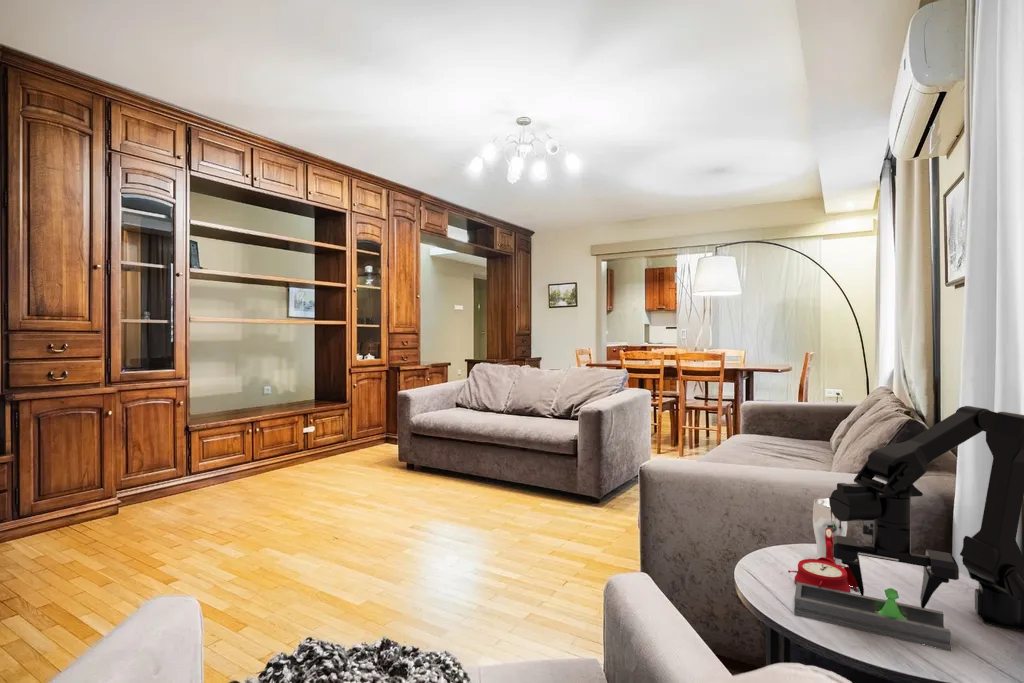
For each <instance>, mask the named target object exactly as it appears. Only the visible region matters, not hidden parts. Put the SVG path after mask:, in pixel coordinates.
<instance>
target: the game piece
mask: <svg viewBox="0 0 1024 683" xmlns="http://www.w3.org/2000/svg"><path fill="white" fill-rule="evenodd" d="M884 594H885V597H886V598H887V601H886V603H885V604H884V606H883V608H882V610H880V611H878V614H881V615H885V616H890V617H895V618H899V619H904V620H906V619H905V618H904V616H903V615H902V614H901V613H900V611H899V609H898V606H897V604H896V602H897V601H896V600H898V599H899V598H900V595H899V593H898V590H896V589H894V588H891V587H890V588H887V589H884Z"/></svg>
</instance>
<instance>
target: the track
mask: <svg viewBox="0 0 1024 683" xmlns="http://www.w3.org/2000/svg"><path fill="white" fill-rule="evenodd" d="M795 583H796V582H795ZM886 601H887V600H886V599H882V598H878V597H874V596H873V597H872V596H868V595H864V596H861V594H860V593H853V592H850V593H849V592H844V591H839V590H834V589H829V588H824V587H819V586H815V585H810V584H805V583H800V582H797V583H796V584H795V593H794V616H798V617H803V618H805V619H811V620H814V621H815V620H816V621H818V622H819V621H820V622H824V623H828V624H832V625H836V626H842V627H845V628H849V629H854V630H858V631H863V632H868V633H871V634H875V635H879V636H884V637H889V638H891V639H897V640H900V641H906V642H910V643H913V642H914V643H913V644H918V643H919V645H922V644H925V645H924V646H926V645H928V646H927V647H930V646H932V647H931V648H935V647H936V649H939V648H940V650H943V649H944V650H943V651H948V652H952V644H951V641H952V637H951V635H952V634H951V633H952V632H951V630H950V629H949V628H945V626H944V623H945V622H944V618H945V617H944V616H945V615H944V611H941V610H937V609H931V608H926V607H925V608H921V606H918V605H911V604H905V603H902V602H897V601H895V602H896V604H897V606H898V609H899V611H900V613H901V614H902V615H903V616H904V618H905V619H906V620H904V619H899V618H895V617H890V616H885V615H881V614H878V611H880V610H882V608H883V606H884V604H885V603H886Z"/></svg>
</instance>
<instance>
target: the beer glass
mask: <svg viewBox="0 0 1024 683" xmlns="http://www.w3.org/2000/svg"><path fill="white" fill-rule="evenodd" d="M812 526H813V531H814V538H815V542H816V555H815V559H818V558H821V557H826V558H829V559H831V560H832V561H833V562H834V563H835V564H837V565H842V566H845V567H846V565H845V564H842V563H841V559H836V558H834V554H833V538H834V537H835V536H836V535H839V536H845V537H847V533H848V532H847V531H848V521H843V522H842V521H839V520H838V519H837V518H836V517H835V516H834V515H833V513H832V511H831V508H830V504H829V498H828V497H819V498H815V499H814V500H813V509H812ZM845 567H842V568H845Z"/></svg>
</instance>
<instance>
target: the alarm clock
mask: <svg viewBox="0 0 1024 683" xmlns="http://www.w3.org/2000/svg"><path fill="white" fill-rule="evenodd" d="M842 567H845V568H842ZM787 572H788V573H796V574H795V576H794V582H795V583H797V582H800V583H805V584H810V585H815V586H819V587H824V588H829V589H834V590H839V591H844V592H849V593H851V592H852V591H851V589H857V588H858V586H857V583H856V580H855V578H854V576H853V574H852V572H851V570H850V568H849V567H848V566H846V565H845V566H842V565H837V564H835V563H834V562H833V561H832V560H831V559H829V558H826V557H821V558H818V559H816V558H806V559H805V558H804V559H802V560H799V561H798V563H797V570H790V569H789V570H788V571H787ZM849 585H850V586H853V588H850V586H849Z"/></svg>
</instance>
